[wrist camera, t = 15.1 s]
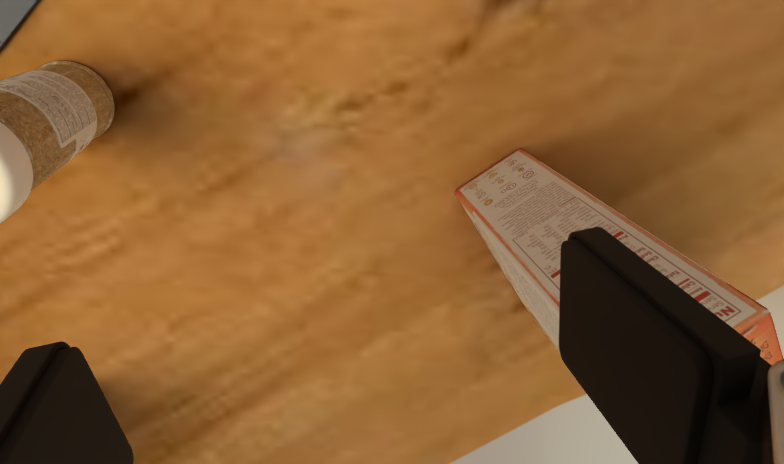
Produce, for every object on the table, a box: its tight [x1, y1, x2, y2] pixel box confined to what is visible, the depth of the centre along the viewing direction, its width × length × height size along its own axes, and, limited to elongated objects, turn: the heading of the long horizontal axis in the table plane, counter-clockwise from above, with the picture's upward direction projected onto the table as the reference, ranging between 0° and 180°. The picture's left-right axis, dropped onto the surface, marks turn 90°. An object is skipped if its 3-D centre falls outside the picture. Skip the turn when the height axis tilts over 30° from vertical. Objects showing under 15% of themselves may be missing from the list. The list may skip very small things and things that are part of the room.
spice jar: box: [0, 61, 115, 223], centre depth 23 cm, size 5×5×13 cm
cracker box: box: [454, 149, 783, 365], centre depth 30 cm, size 14×6×21 cm, turn 32°
